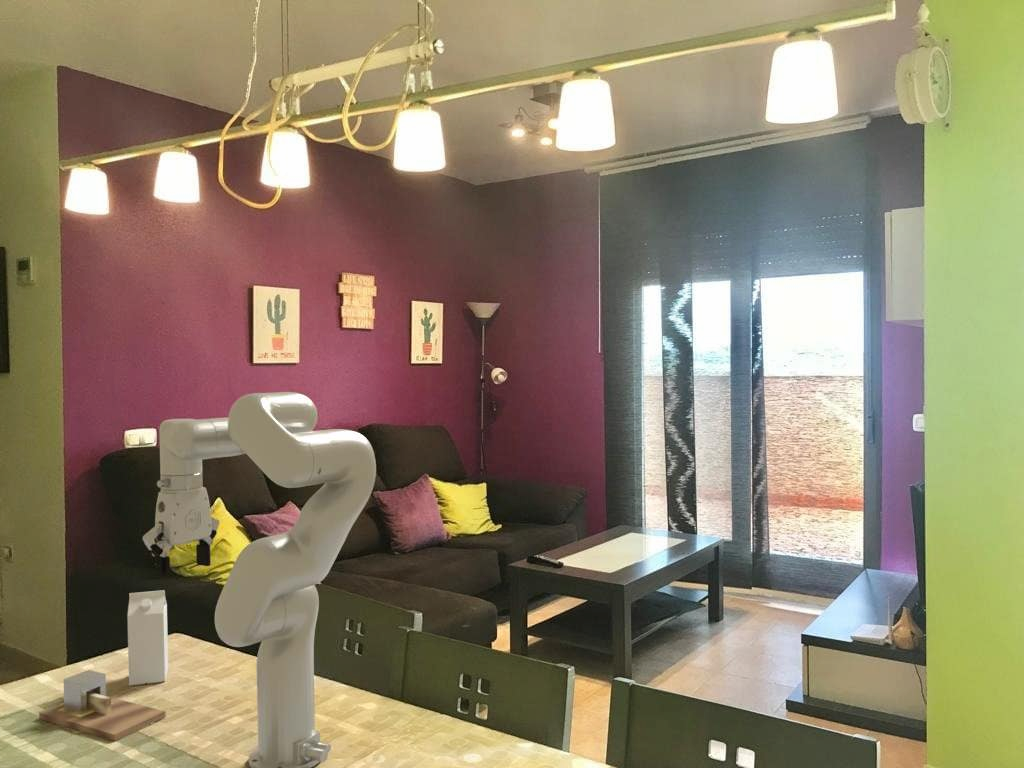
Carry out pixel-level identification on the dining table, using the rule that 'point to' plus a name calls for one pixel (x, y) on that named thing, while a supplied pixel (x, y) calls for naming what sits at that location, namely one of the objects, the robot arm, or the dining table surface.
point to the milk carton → (147, 637)
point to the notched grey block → (82, 690)
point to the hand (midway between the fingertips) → (183, 570)
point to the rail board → (105, 716)
